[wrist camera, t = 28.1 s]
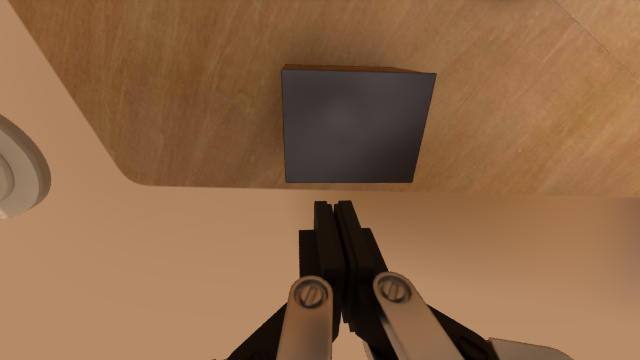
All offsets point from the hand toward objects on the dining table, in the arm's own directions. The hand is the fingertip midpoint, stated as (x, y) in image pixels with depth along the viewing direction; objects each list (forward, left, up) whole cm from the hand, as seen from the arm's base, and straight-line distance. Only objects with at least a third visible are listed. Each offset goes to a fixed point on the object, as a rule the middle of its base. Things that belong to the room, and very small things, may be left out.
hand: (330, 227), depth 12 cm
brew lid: (+4, 0, -16) cm, 17 cm away
